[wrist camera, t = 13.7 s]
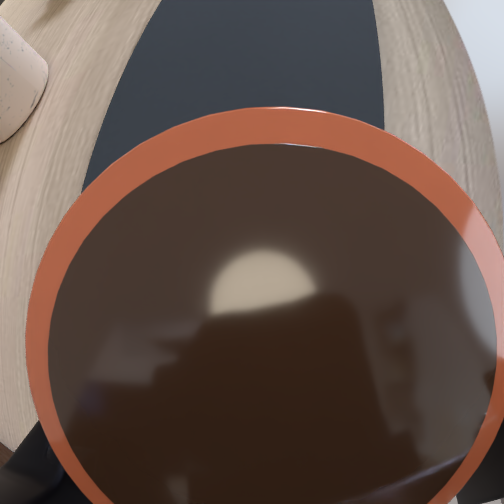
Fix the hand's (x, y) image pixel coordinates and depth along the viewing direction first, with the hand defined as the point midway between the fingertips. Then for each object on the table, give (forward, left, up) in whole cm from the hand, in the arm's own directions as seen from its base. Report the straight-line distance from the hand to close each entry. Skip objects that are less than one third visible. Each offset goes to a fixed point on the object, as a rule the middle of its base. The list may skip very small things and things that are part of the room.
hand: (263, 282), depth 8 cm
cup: (-1, +1, -4) cm, 4 cm away
